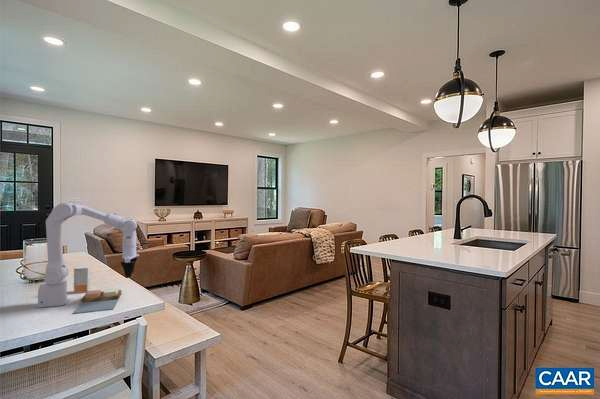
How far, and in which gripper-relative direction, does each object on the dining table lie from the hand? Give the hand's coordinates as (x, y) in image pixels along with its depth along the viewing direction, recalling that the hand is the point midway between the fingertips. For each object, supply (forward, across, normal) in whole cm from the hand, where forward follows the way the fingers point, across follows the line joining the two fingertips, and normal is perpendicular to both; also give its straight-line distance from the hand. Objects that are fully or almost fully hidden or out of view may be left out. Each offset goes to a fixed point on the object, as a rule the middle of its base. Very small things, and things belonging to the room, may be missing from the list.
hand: (129, 274), depth 145 cm
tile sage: (+8, 0, +8) cm, 11 cm away
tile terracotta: (+8, 0, +14) cm, 17 cm away
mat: (+10, -10, +11) cm, 18 cm away
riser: (+10, 0, +11) cm, 15 cm away
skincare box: (+10, +15, +22) cm, 29 cm away
